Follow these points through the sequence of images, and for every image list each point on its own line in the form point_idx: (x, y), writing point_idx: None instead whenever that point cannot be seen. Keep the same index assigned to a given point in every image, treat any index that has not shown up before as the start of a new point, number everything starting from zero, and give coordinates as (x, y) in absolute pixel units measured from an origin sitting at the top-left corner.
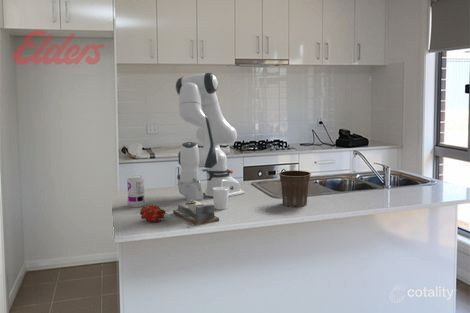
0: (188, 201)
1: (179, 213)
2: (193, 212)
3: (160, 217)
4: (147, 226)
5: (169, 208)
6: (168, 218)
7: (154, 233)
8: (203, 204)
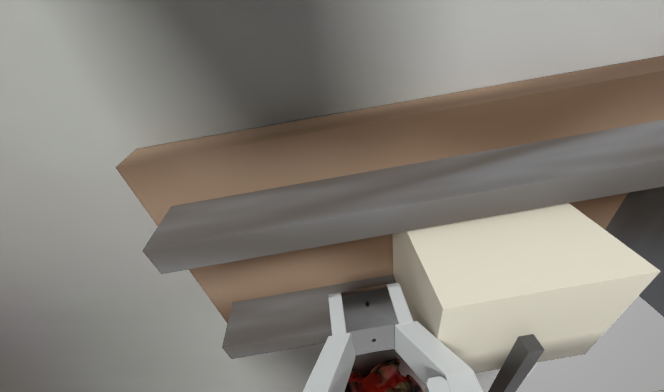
0: (350, 370)
1: None
2: None
3: (418, 384)
4: None
5: (78, 319)
6: None
7: (533, 367)
8: (649, 263)
